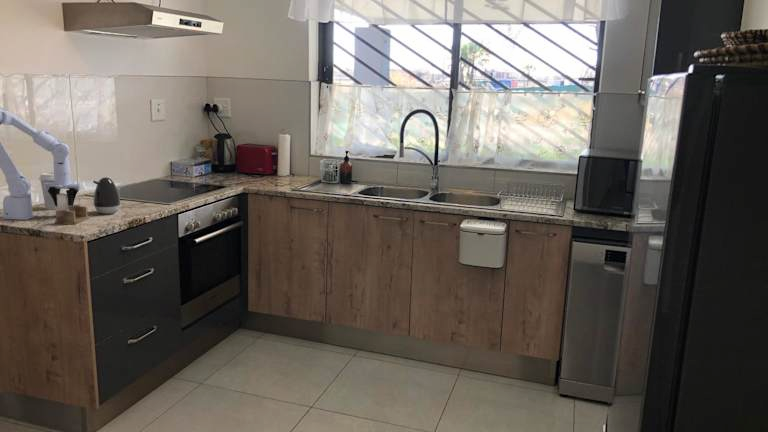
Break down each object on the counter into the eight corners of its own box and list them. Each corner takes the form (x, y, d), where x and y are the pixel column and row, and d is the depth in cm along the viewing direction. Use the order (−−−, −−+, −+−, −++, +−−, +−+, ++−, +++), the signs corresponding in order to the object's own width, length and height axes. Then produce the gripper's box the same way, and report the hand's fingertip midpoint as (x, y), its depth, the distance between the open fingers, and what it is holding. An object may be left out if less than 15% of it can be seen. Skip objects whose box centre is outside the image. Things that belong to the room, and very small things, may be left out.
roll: (55, 211, 242) (53, 194, 241) (61, 209, 247) (60, 192, 246) (67, 212, 242) (66, 195, 241) (73, 210, 247) (72, 193, 246)
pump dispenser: (88, 213, 252) (86, 177, 249) (111, 209, 261) (109, 174, 258) (102, 216, 247) (100, 180, 244) (125, 212, 255) (123, 177, 252)
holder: (54, 223, 233) (53, 209, 231) (70, 217, 243) (69, 203, 242) (75, 224, 232) (74, 210, 231) (89, 218, 243) (88, 204, 242)
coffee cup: (71, 208, 260) (68, 173, 257) (49, 211, 252) (46, 176, 249) (58, 205, 265) (55, 171, 261) (36, 208, 256) (33, 173, 253)
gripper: (38, 173, 238) (40, 207, 241) (74, 175, 237) (76, 209, 240) (48, 171, 244) (50, 203, 247) (83, 172, 244) (85, 205, 247)
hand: (64, 206), depth 244 cm, fingers closed on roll, 5 cm apart
